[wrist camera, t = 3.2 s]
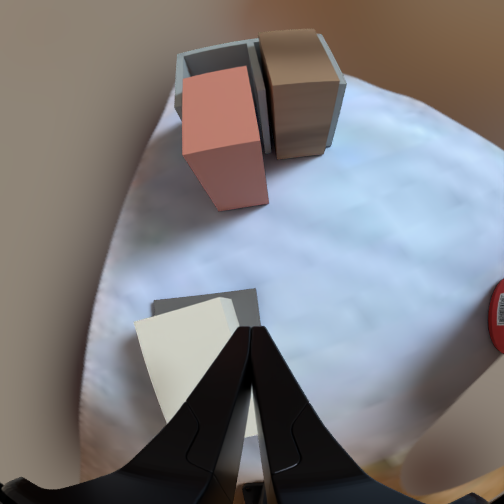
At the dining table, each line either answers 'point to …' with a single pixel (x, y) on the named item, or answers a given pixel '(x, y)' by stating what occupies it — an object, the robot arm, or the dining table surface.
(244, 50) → the socket block
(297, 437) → the robot arm
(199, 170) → the salmon pink block
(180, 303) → the rubber mat
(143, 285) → the dining table surface
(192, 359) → the cream rectangular block
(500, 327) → the canned food
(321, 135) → the walnut plug
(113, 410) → the dining table surface
